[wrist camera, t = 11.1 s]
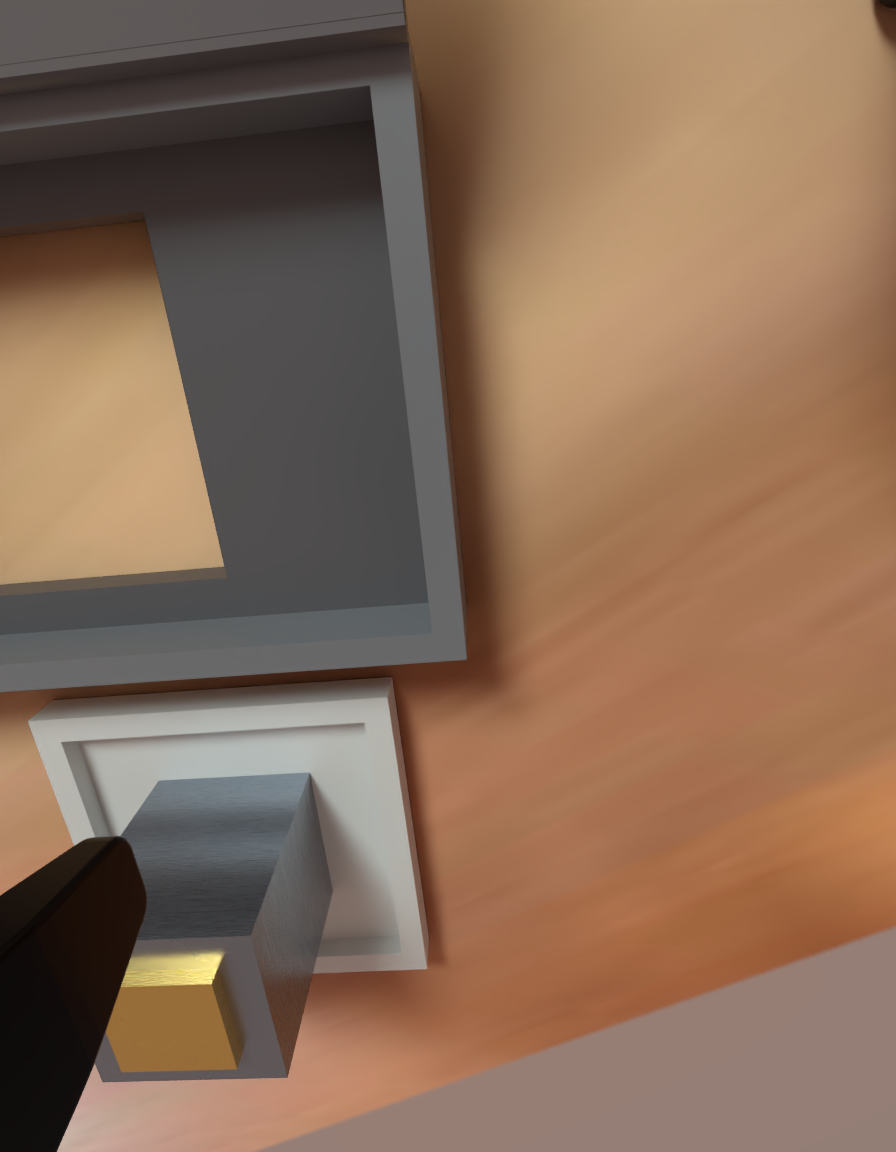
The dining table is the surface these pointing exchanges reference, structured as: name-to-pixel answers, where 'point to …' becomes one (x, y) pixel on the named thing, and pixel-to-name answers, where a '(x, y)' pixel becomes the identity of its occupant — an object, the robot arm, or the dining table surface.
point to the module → (220, 930)
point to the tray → (264, 747)
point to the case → (253, 327)
